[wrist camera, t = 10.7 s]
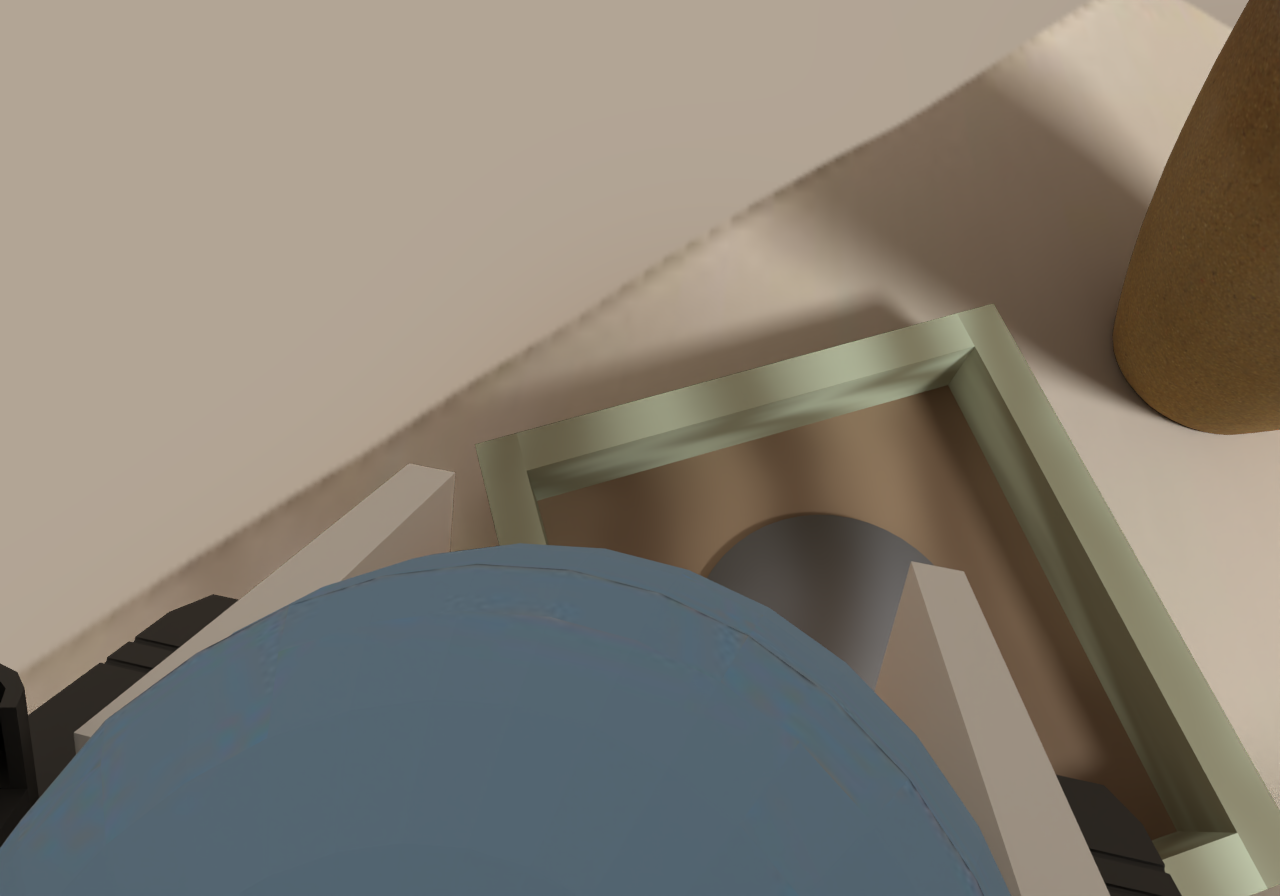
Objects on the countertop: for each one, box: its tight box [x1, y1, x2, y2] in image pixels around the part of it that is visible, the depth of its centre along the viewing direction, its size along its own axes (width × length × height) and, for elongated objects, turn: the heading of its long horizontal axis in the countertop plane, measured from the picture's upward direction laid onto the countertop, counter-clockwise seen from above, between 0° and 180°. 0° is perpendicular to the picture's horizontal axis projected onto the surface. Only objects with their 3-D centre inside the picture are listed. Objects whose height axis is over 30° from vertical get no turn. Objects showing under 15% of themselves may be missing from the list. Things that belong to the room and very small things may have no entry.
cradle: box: [475, 304, 1280, 896], centre depth 28 cm, size 20×20×4 cm
